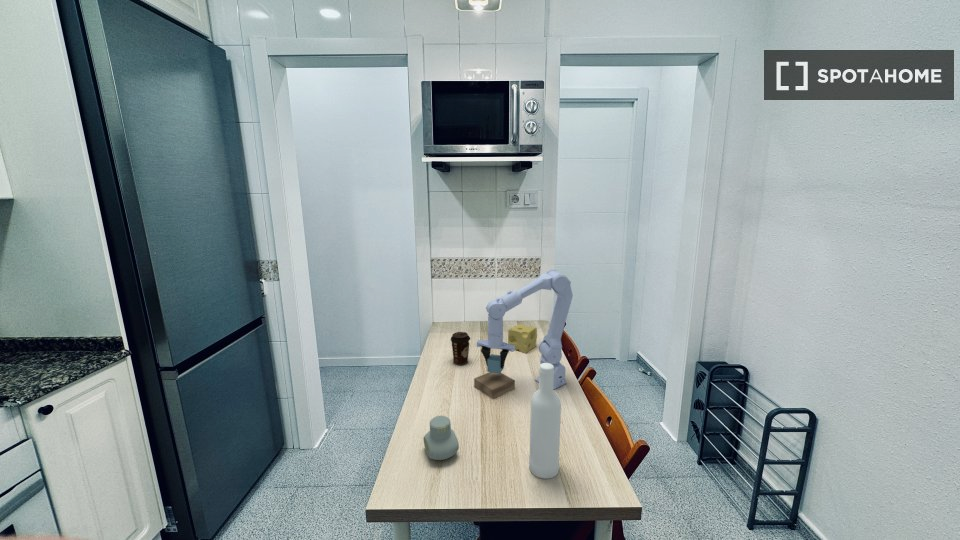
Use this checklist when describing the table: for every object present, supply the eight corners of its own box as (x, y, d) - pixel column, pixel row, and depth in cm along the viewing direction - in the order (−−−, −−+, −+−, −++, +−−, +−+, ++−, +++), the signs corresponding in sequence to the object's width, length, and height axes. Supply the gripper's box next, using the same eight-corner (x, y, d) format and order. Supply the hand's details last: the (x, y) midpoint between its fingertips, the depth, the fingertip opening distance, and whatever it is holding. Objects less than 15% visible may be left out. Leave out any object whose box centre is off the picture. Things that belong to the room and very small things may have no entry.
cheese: (526, 354, 168) (526, 333, 166) (506, 348, 175) (506, 328, 173) (537, 346, 176) (537, 327, 174) (518, 341, 183) (518, 322, 181)
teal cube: (503, 368, 140) (503, 355, 139) (499, 373, 136) (500, 361, 135) (491, 366, 142) (491, 354, 141) (487, 371, 137) (487, 359, 137)
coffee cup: (471, 358, 164) (471, 331, 162) (469, 366, 156) (469, 338, 153) (452, 357, 165) (452, 330, 162) (449, 366, 157) (448, 337, 154)
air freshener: (422, 444, 108) (420, 414, 106) (448, 437, 111) (447, 407, 109) (432, 469, 98) (431, 436, 96) (461, 460, 101) (460, 428, 99)
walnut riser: (514, 389, 138) (514, 380, 137) (492, 400, 131) (492, 390, 131) (495, 378, 146) (495, 369, 146) (474, 388, 140) (474, 378, 139)
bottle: (555, 457, 102) (558, 358, 96) (562, 479, 94) (566, 372, 88) (526, 458, 102) (528, 359, 95) (531, 480, 94) (533, 373, 88)
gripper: (517, 331, 137) (516, 364, 139) (480, 326, 142) (481, 358, 144) (511, 337, 130) (511, 372, 133) (474, 332, 135) (474, 366, 138)
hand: (495, 366), depth 138 cm, fingers closed on teal cube, 5 cm apart
